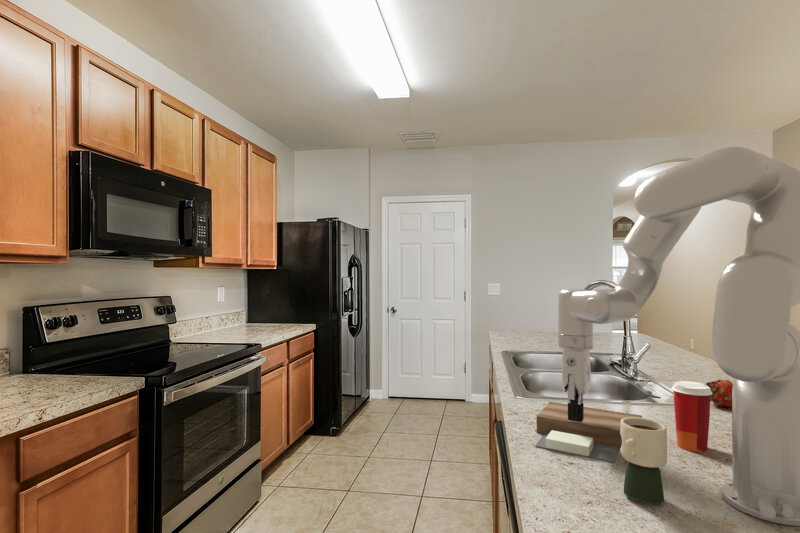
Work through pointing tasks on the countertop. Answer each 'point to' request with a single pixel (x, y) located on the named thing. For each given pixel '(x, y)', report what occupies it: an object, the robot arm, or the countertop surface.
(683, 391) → the paper cup
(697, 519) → the countertop surface
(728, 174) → the robot arm
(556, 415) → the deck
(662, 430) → the character mug
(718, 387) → the dragon fruit
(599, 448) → the mat
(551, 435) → the cream rectangular block
